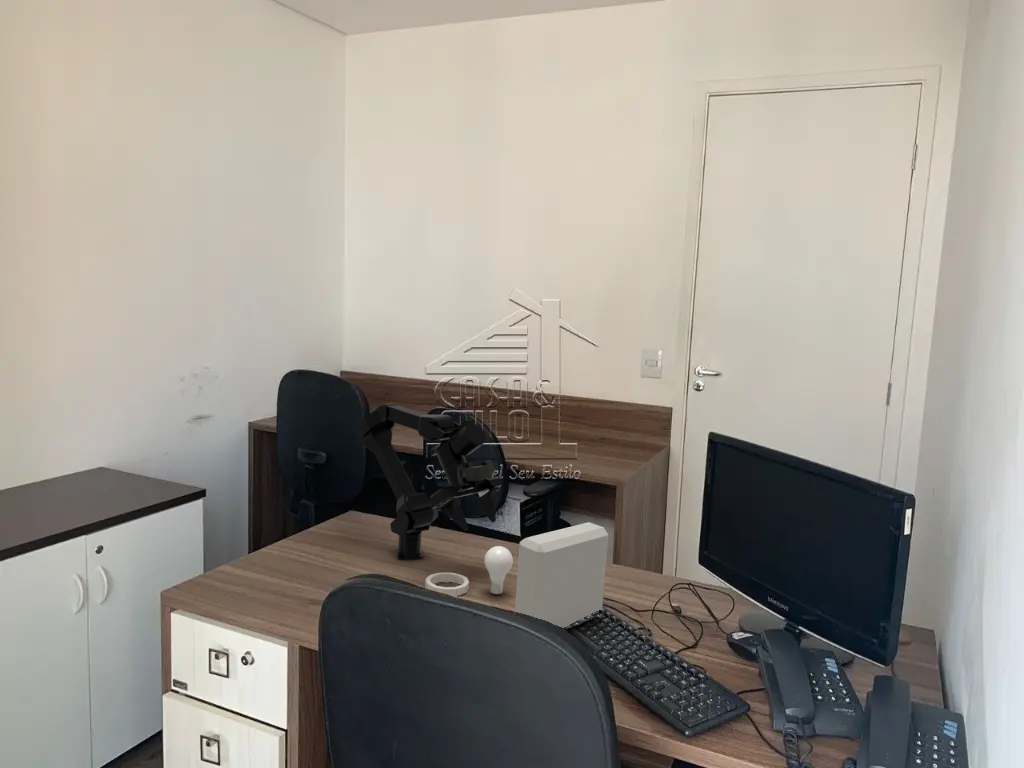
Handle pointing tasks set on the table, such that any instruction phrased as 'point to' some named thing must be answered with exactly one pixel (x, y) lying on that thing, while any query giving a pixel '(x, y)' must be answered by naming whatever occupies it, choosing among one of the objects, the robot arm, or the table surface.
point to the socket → (448, 577)
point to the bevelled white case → (562, 574)
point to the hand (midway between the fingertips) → (480, 525)
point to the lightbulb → (498, 566)
